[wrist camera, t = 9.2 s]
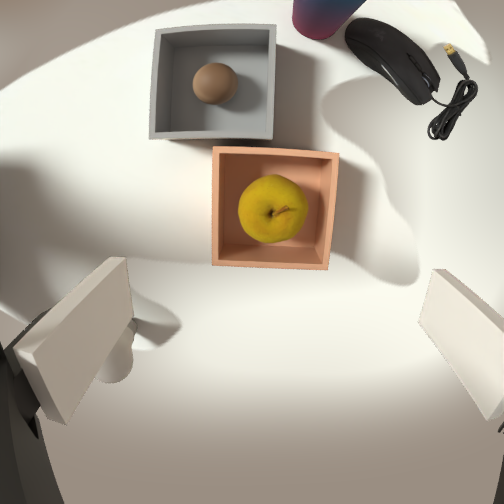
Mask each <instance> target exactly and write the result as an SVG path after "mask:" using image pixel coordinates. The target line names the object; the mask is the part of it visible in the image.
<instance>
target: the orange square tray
mask: <svg viewBox="0 0 504 504" xmlns="http://www.w3.org/2000/svg"><path fill="white" fill-rule="evenodd" d="M338 166H339V153H332V152H323V151H311V150H298V149H283V148H264V147H232V146H213V158H212V265H213V266H234V267H257V268H259V267H260V268H281V269H307V270H308V269H309V270H328V264H329V257H330V249H331V240H332V232H333V222H334V213H335V202H336V191H337V179H338ZM271 174H278V175H281V176H283V177H285V178H287V179H289V180H291V181H293V182H294V183H296V184H297V185H298V186H299V187H300V188H301V189H302V191H303V192H304V194H305V196H306V199H307V202H308V213H307V216H306V219H305V222H304V224H303V226H302V228H301V230H300V231H299V232H298V233H297V234H296V235H295V236H294V237H293V238H291V239H288V240H285V241H282V242H277V243H263V242H260V241H258V240H256V239H254V238H252V237H251V236H249V235H248V234H247V233H246V232H245V231H244V229H243V227H242V225H241V222H240V218H239V215H238V207H239V200H240V198H241V195H242V193H243V192H244V190H245V189H246V188H247V187H248V186H249V185H250V184H251V183H253V182H254V181H255V180H257V179H259V178H261V177H264V176H267V175H271Z"/></svg>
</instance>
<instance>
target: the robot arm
mask: <svg viewBox="0 0 504 504" xmlns="http://www.w3.org/2000/svg"><path fill="white" fill-rule="evenodd" d="M133 316H134V312H133V306H132V299H131V293H130V285H129V278H128V270H127V262H126V257H109V258H108V259H107V260H105V261H104V262H103V263H102V264H101V265H100V266H98V267H97V268H96V269H95V270H94V271H93V272H92V273H90V274H89V275H88V276H87V277H86V278H85V279H84V280H82V281H81V282H80V283H79V284H78V285H77V286H76V287H75V288H74V289H72V290H71V291H70V292H69V293H68V294H67V295H66V296H65V297H64V298H63V299H62V300H60V301H59V302H58V303H57V304H56V305H55V306H54V307H53V308H51V309H49V310H47V311H45V312H43V313H41V314H40V315H39V316H38V317H37V318H36V319H34V320H33V321H32V324H29V325H28V326H27V327H26V328H25V331H24V330H23V331H22V332H21V333H20V334H19V335H18V336H17V337H16V338H15V339H14V340H13V341H12V342H11V343H10V344H9V345H8V346H7V347H6V348H5V349H4V350H3V347H2V345H1V342H0V504H64V501H63V499H62V496H61V493H60V491H59V488H58V485H57V482H56V479H55V477H54V473H53V470H52V467H51V464H50V460H49V457H48V454H47V450H46V446H45V443H44V439H43V435H42V430H41V426H40V422H39V419H38V417H37V415H36V412H37V410H38V408H39V407H40V406H41V408H42V410H43V412H44V413H45V415H46V417H47V418H48V419H50V420H52V421H55V422H58V423H61V424H64V425H67V424H68V422H69V421H70V419H71V417H72V415H73V413H74V412H75V410H76V408H77V406H78V405H79V403H80V401H81V399H82V398H83V396H84V394H85V393H86V391H87V389H88V388H89V386H90V384H91V382H92V381H93V379H94V378H95V376H96V374H97V373H98V371H99V369H100V368H101V366H102V365H103V363H104V361H105V360H106V358H107V356H108V355H109V353H110V352H111V350H112V348H113V347H114V345H115V344H116V342H117V341H118V339H119V337H120V336H121V334H122V333H123V331H124V330H125V328H126V327H127V325H128V324H129V322H130V321H131V319H132V317H133ZM418 323H419V325H420V326H421V327H422V328H423V330H424V331H425V332H426V334H427V335H428V336H429V338H430V339H431V340H432V342H433V343H434V344H435V346H436V347H437V348H438V350H439V351H440V353H441V354H442V355H443V357H444V358H445V359H446V361H447V362H448V364H449V365H450V367H451V368H452V369H453V371H454V372H455V374H456V375H457V376H458V378H459V379H460V381H461V382H462V384H463V385H464V387H465V388H466V390H467V391H468V393H469V394H470V396H471V397H472V399H473V400H474V402H475V403H476V405H477V406H478V408H479V410H480V411H481V413H482V414H483V416H484V418H485V419H486V421H489V420H492V419H495V418H497V417H500V416H501V415H502V413H503V412H504V319H503V318H502V317H501V316H500V315H499V314H498V313H497V312H496V311H495V310H493V309H492V308H491V307H490V306H489V305H488V304H487V303H486V302H484V301H483V300H482V299H481V298H480V297H479V296H478V295H476V294H475V293H474V292H473V291H472V290H470V289H469V288H468V287H467V286H465V285H464V284H463V283H462V282H461V281H460V280H458V279H457V278H456V277H454V276H453V275H452V274H451V273H450V272H448V271H447V270H446V269H433V270H432V274H431V278H430V282H429V286H428V290H427V293H426V297H425V301H424V304H423V307H422V311H421V314H420V317H419V320H418ZM503 428H504V422H503V423H502V425H501V426H500V427H499V429H498V432H501V430H502V429H503ZM503 434H504V433H503ZM493 504H504V456H503V462H502V467H501V472H500V478H499V482H498V486H497V491H496V495H495V499H494V503H493Z"/></svg>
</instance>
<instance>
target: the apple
mask: <svg viewBox="0 0 504 504" xmlns="http://www.w3.org/2000/svg"><path fill="white" fill-rule="evenodd" d="M307 213H308V202H307V199H306V196H305V194H304V192H303V191H302V189H301V188H300V187H299V186H298V185H297V184H296V183H294V182H293V181H291V180H289V179H287V178H285V177H283V176H281V175H278V174H271V175H267V176H264V177H261V178H259V179H257V180H255V181H254V182H253V183H251V184H250V185H249V186H248V187H247V188H246V189H245V190H244V192H243V193H242V195H241V198H240V200H239V207H238V215H239V218H240V222H241V225H242V227H243V229H244V231H245V232H246V233H247V234H248V235H249V236H251V237H252V238H254V239H256V240H258V241H260V242H263V243H277V242H282V241H285V240H288V239H291V238H293V237H294V236H295V235H296V234H297V233H298V232H299V231H300V230H301V228H302V226H303V224H304V222H305V219H306V216H307Z"/></svg>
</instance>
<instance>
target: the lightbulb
mask: <svg viewBox="0 0 504 504" xmlns="http://www.w3.org/2000/svg"><path fill="white" fill-rule="evenodd" d="M136 331H137V325H136V323H135V322H134V321H133V320H131V321H130V322H129V324H128V325H127V327H126V328H125V330H124V331H123V333H122V334H121V336H120V337H119V339H118V341H117V342H116V344H115V345H114V347H113V348H112V350H111V352H110V353H109V355H108V356H107V358H106V360H105V361H104V363H103V365H102V366H101V368H100V369H99V371H98V373H97V374H96V376H95V378H96V379H97V380H99V381H101V382H104V383H116V382H120V381H121V380H123V379H125V378H126V377H127V376H128V374H129V373H130V371H131V369H132V365H133V354H132V349H131V346H132V343H133V341H134V335H135V333H136Z"/></svg>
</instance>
